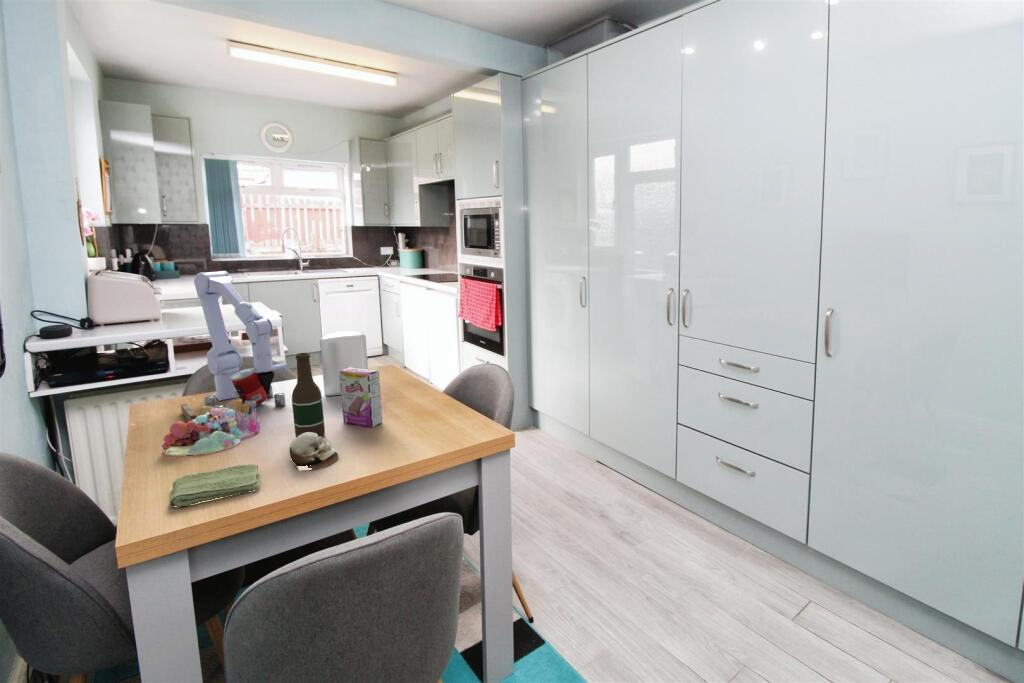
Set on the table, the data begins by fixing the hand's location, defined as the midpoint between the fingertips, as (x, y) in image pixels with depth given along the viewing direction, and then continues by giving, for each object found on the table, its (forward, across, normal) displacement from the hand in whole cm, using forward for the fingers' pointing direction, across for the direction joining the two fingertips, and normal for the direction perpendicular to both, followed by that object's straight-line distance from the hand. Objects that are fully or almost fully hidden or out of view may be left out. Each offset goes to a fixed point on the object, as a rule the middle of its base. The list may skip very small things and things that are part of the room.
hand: (267, 394), depth 185 cm
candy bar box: (+4, +15, -42) cm, 44 cm away
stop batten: (+3, -24, 0) cm, 24 cm away
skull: (+4, -7, -59) cm, 60 cm away
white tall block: (+4, +27, -6) cm, 28 cm away
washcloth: (+4, -29, -60) cm, 66 cm away
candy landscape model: (+4, -22, -24) cm, 32 cm away
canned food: (+2, -4, 0) cm, 4 cm away
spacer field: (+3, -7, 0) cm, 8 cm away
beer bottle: (+4, -1, -43) cm, 43 cm away
